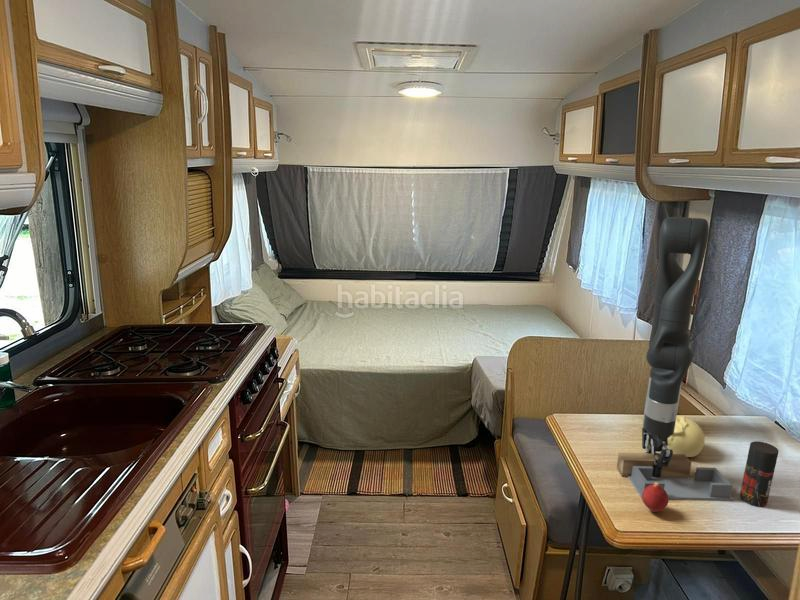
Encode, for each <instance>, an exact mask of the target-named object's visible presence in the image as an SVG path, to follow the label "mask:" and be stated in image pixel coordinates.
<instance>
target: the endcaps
mask: <svg viewBox="0 0 800 600" xmlns="http://www.w3.org/2000/svg"><path fill="white" fill-rule="evenodd" d="M652 472H653V468H652V466H633V468H632V475H631V476H629V477H627V478H629V479H628V480H629V481H630V483H631V484H632V486H633V487H634V489H635V491H636V492H637V493H638V495H639V496H640V498H641V499H642V493H643V491H644V489H645V488H646V487H647V486H649V485H653V484H654V482H657V483H658V484H659V485H660V486H661V487H662V488H663V489H664V490H665V491H666V493H667V495H668V500H688V501H689V500H690V501H692V500H693V501H697V500H698V501H729V502H731V501H732V502H733V501H734V498H733V497H732V495H731V494H732V489H733V484H732V483H731V482H730V481H729V480H728V479H727V478H726V477H725V475H724V474H722V472H720V471H719V470H718V468H716V467H706V466H705V467H702V466H701V467H698V466H697V467H696V468H695V473H694V474H695V475H694V477H689V478H686V477H652Z"/></svg>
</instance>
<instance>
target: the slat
mask: <svg viewBox="0 0 800 600" xmlns="http://www.w3.org/2000/svg"><path fill="white" fill-rule="evenodd" d="M658 458H659V457H657V460H658ZM653 464H654V463H653V455H652V453H645V452H621V451H620V452H618V457H617V463H616V470H617V471H618V473H619V475H620V474H621V475H620V477H623V478H625V477H627V478H628V477H629V476H631V475H632V468H633V466H652V468H653ZM691 467H692V461H691V460H690V459H689V457H686V456H685V454H672V457H671V459H670V462H669V464H668V467H662V471H661V476H660V477H686V478H690V474H691ZM652 477H653V476H652Z"/></svg>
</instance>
